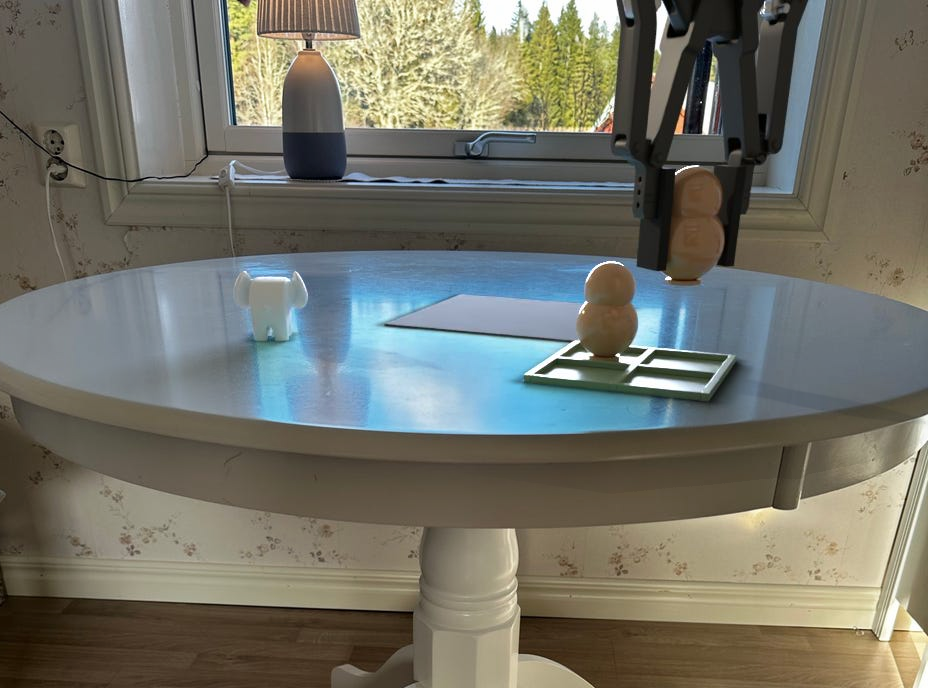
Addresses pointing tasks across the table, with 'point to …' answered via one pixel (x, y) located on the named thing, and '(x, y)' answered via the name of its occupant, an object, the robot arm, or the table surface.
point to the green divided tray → (637, 371)
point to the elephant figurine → (270, 303)
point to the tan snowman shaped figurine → (694, 227)
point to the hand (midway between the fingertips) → (685, 265)
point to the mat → (498, 317)
